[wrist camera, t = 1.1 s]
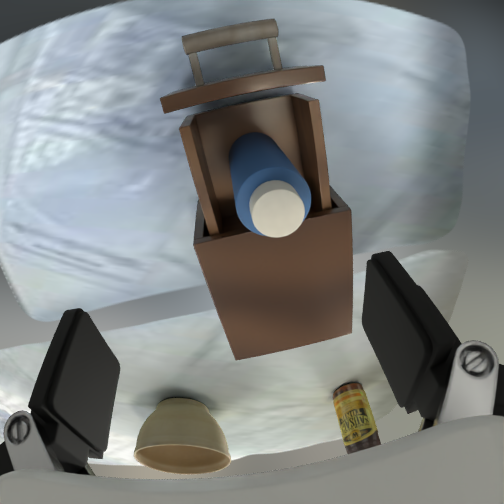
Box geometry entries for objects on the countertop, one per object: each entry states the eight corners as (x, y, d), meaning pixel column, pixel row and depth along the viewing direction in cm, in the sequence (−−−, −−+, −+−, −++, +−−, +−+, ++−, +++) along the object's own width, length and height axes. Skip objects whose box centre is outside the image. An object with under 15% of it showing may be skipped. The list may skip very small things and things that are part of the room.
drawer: (161, 48, 22) (145, 41, 17) (290, 22, 22) (312, 9, 16) (209, 223, 32) (208, 260, 26) (319, 198, 32) (342, 230, 26)
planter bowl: (132, 417, 53) (127, 465, 44) (150, 376, 46) (144, 436, 37) (207, 433, 58) (210, 479, 49) (241, 397, 51) (248, 452, 42)
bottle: (223, 138, 27) (228, 185, 16) (275, 127, 26) (313, 167, 16) (234, 185, 29) (246, 257, 19) (283, 175, 29) (321, 240, 19)
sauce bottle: (355, 376, 52) (390, 473, 35) (366, 388, 55) (398, 476, 38) (324, 393, 54) (351, 489, 37) (337, 403, 57) (363, 490, 40)
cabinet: (197, 200, 32) (192, 244, 24) (319, 174, 31) (351, 209, 24) (230, 306, 39) (235, 360, 32) (329, 284, 39) (352, 333, 32)
